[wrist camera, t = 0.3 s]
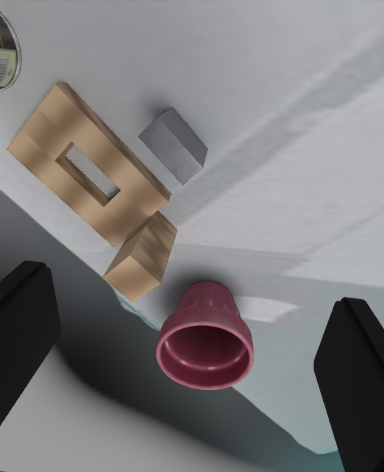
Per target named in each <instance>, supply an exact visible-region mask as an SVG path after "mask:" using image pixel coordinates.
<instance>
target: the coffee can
mask: <svg viewBox="0 0 384 472" xmlns="http://www.w3.org/2000/svg"><path fill="white" fill-rule="evenodd" d="M20 67H21V51H20V47H19V43H18V40H17V37H16V35H15V33H14V31H13V29H12V27H11V25H10V24H9V22H8V21H7V19H6V18H5V17H4V16H3V15H2V13H1V12H0V91H2V90H5V89H7V88H8V87H10V86H11V85H12V84H13V83H14V82H15V80H16V78H17V77H18V74H19V71H20Z"/></svg>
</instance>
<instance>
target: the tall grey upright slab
mask: <svg viewBox="0 0 384 472" xmlns="http://www.w3.org/2000/svg"><path fill="white" fill-rule="evenodd" d="M138 137H139V138H140V139H141V140H142V141H143V142H144V143H145V144H146V146H147V147H148V148H149V149H150V150H151V151H152V152H153V153H154V154H155V155H156V156H157V158H158V159H159V160H160V161H161V162H162V163H163V164H164V165H165V166H166V167H167V168H168V169H169V171H170V172H171V173H172V174H173V175H174V176H175V177H176V178H177V179H178V180H179V181H180V182H181V184H182V185H184V184H185V183H186V182H187V181H188V180H189V179H190V178H192V177H193V176H194V175H195V174H196V173H197V172H199V171H200V170H201V169H202V168H203V165H204V162H205V158H206V154H207V150H208V148H207V147H206V146H205V145H204V143H203V142H202V141H201V140H200V139H199V138H198V136H197V135H196V134H195V133H194V132H193V130H192V129H191V128H190V127H189V126H188V125H187V123H186V122H185V121H184V120H183V119H182V118H181V116H180V115H179V114H178V113H177V112H176V110H175V109H174V108H171V109H170V110H168V111H166V112H164V113H163V114H161V115H159V116H158V117H157V118H156V119H155V120H154V121H153V122H152V123H151V124H150V125H149V126H148V127H147V128H146V129H145V130H144V131H143V132H142V133H141V134H140V135H139V136H138Z"/></svg>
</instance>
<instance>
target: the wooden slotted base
mask: <svg viewBox="0 0 384 472" xmlns="http://www.w3.org/2000/svg"><path fill="white" fill-rule="evenodd" d="M74 144H75V145H76V146H77V147H78V148H79V149H80V150H81V151H82V152H83V153H84V154H85V155H86V156H87V157H88V158H89V159H90V160H91V161H92V162H93V163H94V164H95V165H96V166H97V167H98V168H99V169H100V170H101V171H102V172H103V173H104V174H105V175H106V176H107V177H108V178H109V179H110V180H111V181H112V182H113V183H114V184H115V185H116V186H117V187H118V188H119V189H120V191H119V192H118V193H117V194H116V195H115V196H114V197H113V198H112V199H111V200H110V199H109V198H108V197H107V196H106V195H105V194H104V193H103V192H102V191H101V190H100V189H99V188H98V187H97V186H96V185H95V184H94V183H93V182H91V181H90V180H89V179H88V178H87V177H86V176H85V175H84V174H83V173H82V172H81V171H80V170H79V169H78V168H77V167H76V166H75V165H74V164H73V163H72V162H71V161H70V160H69V159H68V158H67V157H66V156H65V155H66V154H67V153H68V151H69V150H70V149H71V148H72V147H73V146H74ZM6 150H7V151H8V152H9V153H11V154H12V155H13V156H14V157H15V158H16V159H17V160H18V161H19V162H20V163H22V164H23V165H24V166H25V167H26V168H27V169H28V170H29V171H30V172H31V173H33V174H34V175H35V176H36V177H37V178H38V179H39V180H40V181H41V182H42V183H44V184H45V185H46V186H47V187H48V188H49V189H50V190H51V191H52V192H54V193H55V194H56V195H57V196H58V197H59V198H60V199H61V200H62V201H63V202H65V203H66V204H67V205H68V206H69V207H70V208H71V209H72V210H73V211H74V212H76V213H77V214H78V215H79V216H80V217H81V218H82V219H83V220H84V221H85V222H87V223H88V224H89V225H90V226H91V227H92V228H93V229H94V230H95V231H97V232H98V233H99V234H100V235H101V236H102V237H103V238H104V239H105V240H106V241H108V242H109V243H110V244H111V245H112V246H113V247H115V246H116V245H118V244H119V243H120V242H121V241H122V240H123V239H125V238H126V237H127V236H128V237H127V239H126V240H125V242H124V244H123V245H122V247H121V248H120V250H119V252H118V253H117V255H116V256H115V258H114V260H113V261H112V263H111V265H110V266H109V268H108V269H107V271H106V273H105V274H104V276H103V278H104V279H105V280H106V281H107V282H108V283H110V284H111V285H112V286H113V287H114V288H115V289H117V290H118V291H119V292H120V293H121V294H122V295H124V296H125V297H126V298H127V299H128V300H129V301H131V302H132V303H134V302H135V301H137V300H138V299H140V298H141V297H142V296H144V295H145V294H147V293H148V292H149V291H151V290H152V289H154V288H155V287H156V286H158V285H159V284H161V281H162V278H163V274H164V271H165V268H166V265H167V262H168V259H169V255H170V252H171V249H172V246H173V243H174V240H175V237H176V233H177V229H176V228H175V227H174V226H173V225H172V224H171V223H170V222H169V221H168V220H167V219H166V218H165V217H164V216H163V215H162V214H161V213H160V212H159V211H158V210H159V209H160V208H161V207H162V206H163V205H165V204H166V203H167V202H168V201H169V198H170V196H171V193H170V192H169V191H168V190H167V189H166V188H165V187H164V186H163V185H162V184H161V182H160V181H159V180H158V179H157V178H156V177H155V176H154V175H153V174H152V173H151V172H150V171H149V170H148V169H147V168H146V167H145V166H144V165H143V164H142V162H141V161H140V160H139V159H138V158H137V157H136V156H135V155H134V154H133V153H132V152H131V151H130V150H129V149H128V148H127V147H126V146H125V145H124V143H123V142H122V141H121V140H120V139H119V138H118V137H117V136H116V135H115V134H114V133H113V132H112V131H111V130H110V129H109V128H108V127H107V126H106V124H105V123H104V122H103V121H102V120H101V119H100V118H99V117H98V116H97V115H96V114H95V113H94V112H93V111H92V110H91V109H90V108H89V107H88V105H87V104H86V103H85V102H84V101H83V100H82V99H81V98H80V97H79V96H78V95H77V94H76V93H75V92H74V91H73V90H72V89H71V88H70V86H69V85H68V84H67V83H63V84H55V85H54V86H53V87H52V89H51V90H50V91H49V93H48V94H47V95H46V97H45V98H44V99H43V101H42V102H41V103H40V105H39V106H38V107H37V109H36V110H35V111H34V113H33V114H32V115H31V117H30V118H29V119H28V121H27V122H26V123H25V125H24V126H23V127H22V129H21V130H20V131H19V133H18V134H17V135H16V137H15V138H14V139H13V141H12V142H11V143H10V145H9V146H8V147H7V149H6Z"/></svg>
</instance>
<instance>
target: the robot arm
mask: <svg viewBox="0 0 384 472" xmlns="http://www.w3.org/2000/svg"><path fill="white" fill-rule="evenodd" d="M60 332H61V324H60V319H59V313H58V307H57V302H56V297H55V291H54V285H53V280H52V275H51V270H50V268H48V267H46V264H45V263H43V262H35V261H24V262H22V263H21V264H20V265H19V266H18V267H17V268H16V269H14V270H13V271H12V272H11V273H10V274H9V275H7V276H6V277H5V278H4V279H3V280H2V281H1V282H0V425H1V424H2V422H3V421H4V419H5V418H6V416H7V415H8V413H9V412H10V410H11V409H12V407H13V406H14V404H15V403H16V401H17V400H18V398H19V397H20V395H21V394H22V392H23V391H24V389H25V388H26V386H27V385H28V383H29V382H30V380H31V379H32V377H33V376H34V374H35V372H36V371H37V370H38V368H39V367H40V365H41V364H42V362H43V361H44V359H45V357H46V356H47V355H48V353H49V351H50V350H51V348H52V347H53V345H54V344H55V342H56V341H57V339H58V338H59V336H60ZM314 372H315V376H316V379H317V382H318V385H319V389H320V392H321V395H322V398H323V402H324V405H325V408H326V411H327V415H328V418H329V421H330V424H331V428H332V431H333V434H334V437H335V441H336V444H337V447H338V451H339V454H340V457H341V460H342V463H343V467H344V470H345V472H384V329H383V327H382V326H381V324H380V322H379V321H378V319H377V318H376V316H375V315H374V313H373V312H372V310H371V309H370V307H369V305H368V304H367V302H366V301H365V300H363V299H356V298H347V297H344V298H342V299H341V301H336V302H335V304H334V307H333V310H332V312H331V315H330V318H329V321H328V323H327V326H326V329H325V332H324V334H323V337H322V340H321V343H320V345H319V348H318V351H317V354H316V356H315V359H314ZM0 472H3V471H0Z"/></svg>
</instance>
